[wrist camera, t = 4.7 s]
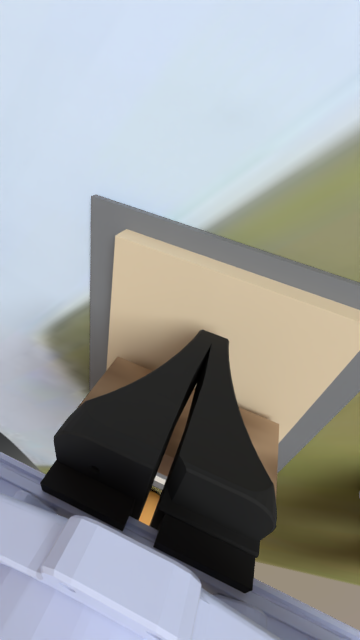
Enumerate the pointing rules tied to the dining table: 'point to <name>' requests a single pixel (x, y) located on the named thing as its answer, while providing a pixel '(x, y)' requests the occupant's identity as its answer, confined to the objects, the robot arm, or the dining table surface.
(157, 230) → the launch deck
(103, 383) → the pusher bar
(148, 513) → the ball
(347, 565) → the dining table surface
